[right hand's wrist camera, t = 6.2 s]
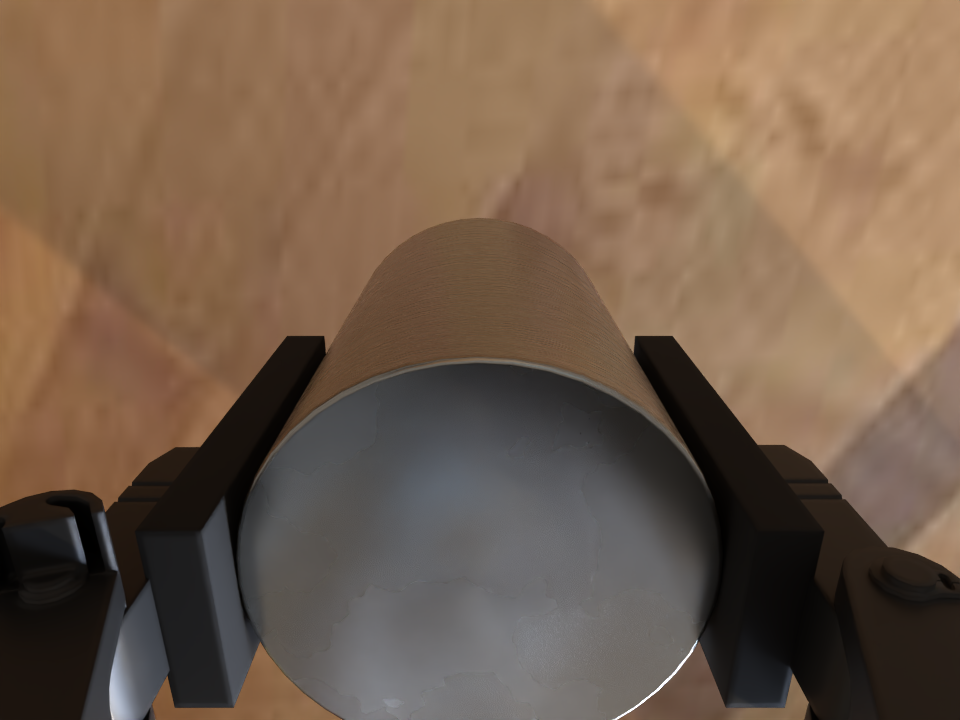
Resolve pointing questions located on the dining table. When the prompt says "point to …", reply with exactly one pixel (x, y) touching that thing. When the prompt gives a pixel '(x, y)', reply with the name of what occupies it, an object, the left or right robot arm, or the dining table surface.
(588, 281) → the can
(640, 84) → the dining table surface
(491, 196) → the dining table surface
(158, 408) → the dining table surface
